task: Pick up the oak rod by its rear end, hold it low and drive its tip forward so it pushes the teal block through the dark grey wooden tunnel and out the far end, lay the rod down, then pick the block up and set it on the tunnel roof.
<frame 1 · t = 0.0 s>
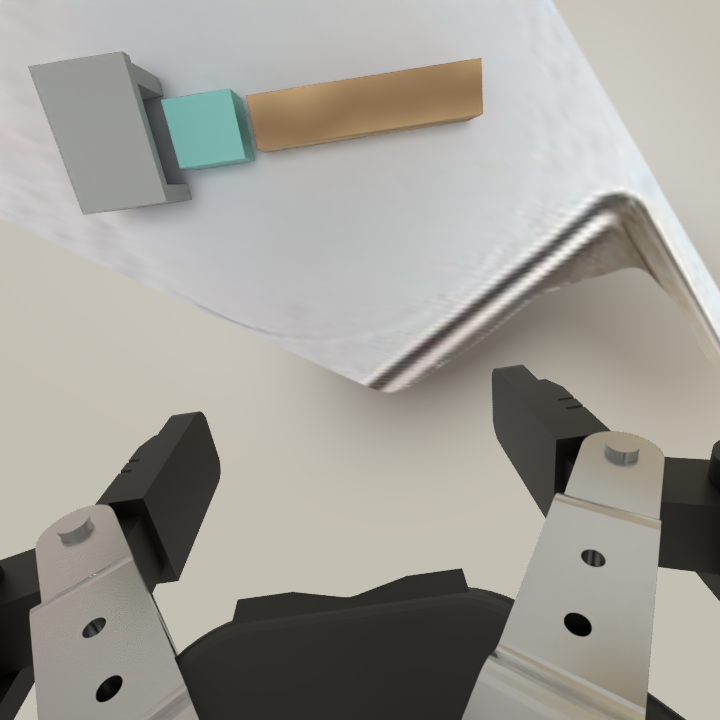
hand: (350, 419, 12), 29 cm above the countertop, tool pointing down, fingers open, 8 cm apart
rod: (363, 112, 35), on the countertop
tunnel: (145, 146, 35), on the countertop
block: (218, 135, 35), on the countertop
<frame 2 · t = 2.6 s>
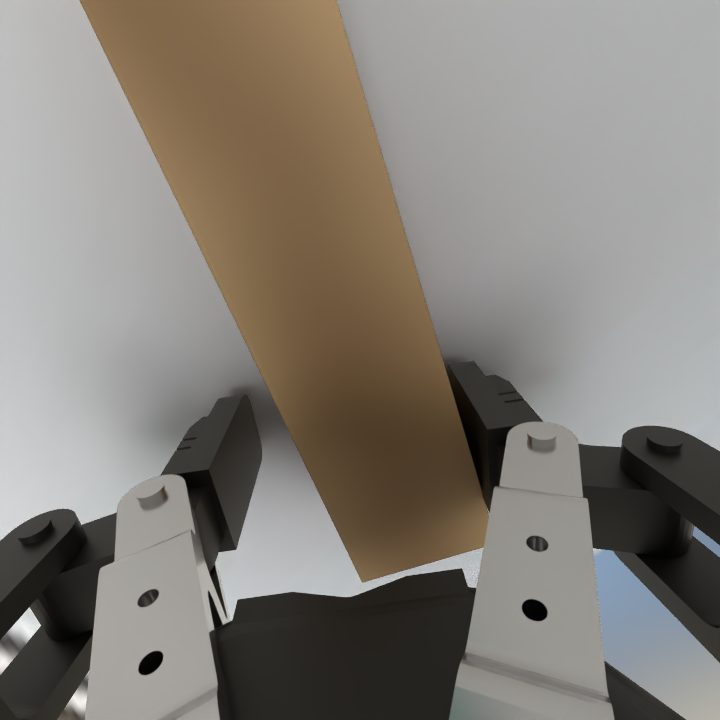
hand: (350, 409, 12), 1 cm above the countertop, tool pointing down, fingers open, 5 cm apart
rod: (311, 212, 11), on the countertop, touching gripper
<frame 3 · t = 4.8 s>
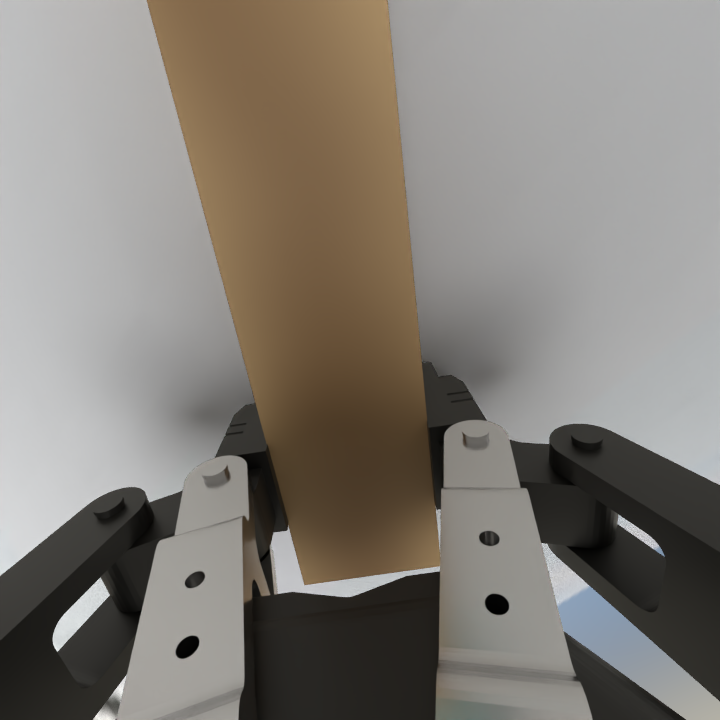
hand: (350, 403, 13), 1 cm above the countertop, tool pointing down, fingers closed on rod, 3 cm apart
rod: (320, 215, 11), on the countertop, touching block, gripper
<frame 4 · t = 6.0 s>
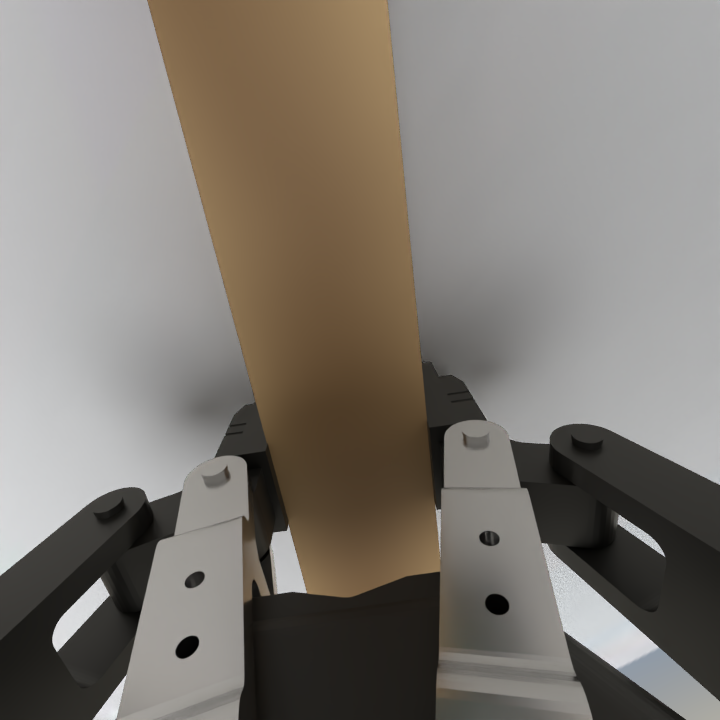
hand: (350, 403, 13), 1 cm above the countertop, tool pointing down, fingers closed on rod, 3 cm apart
rod: (324, 242, 12), on the countertop, touching block, gripper
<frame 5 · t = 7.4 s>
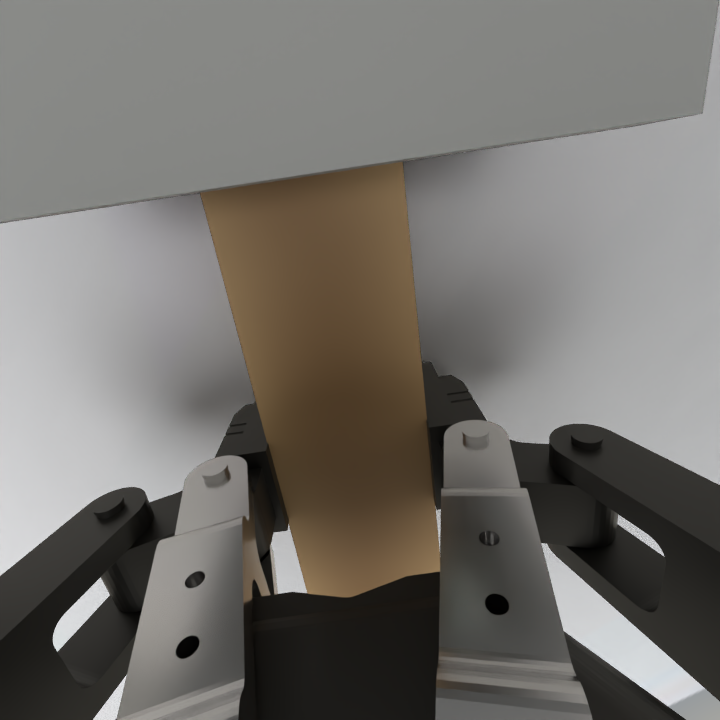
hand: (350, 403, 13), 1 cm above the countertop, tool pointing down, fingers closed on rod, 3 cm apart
rod: (328, 264, 12), on the countertop, touching gripper
tunnel: (292, 40, 10), on the countertop
when the fingers open (1 cm above the countertop, at t = 9.7 s): rod stays where it is, on the countertop.
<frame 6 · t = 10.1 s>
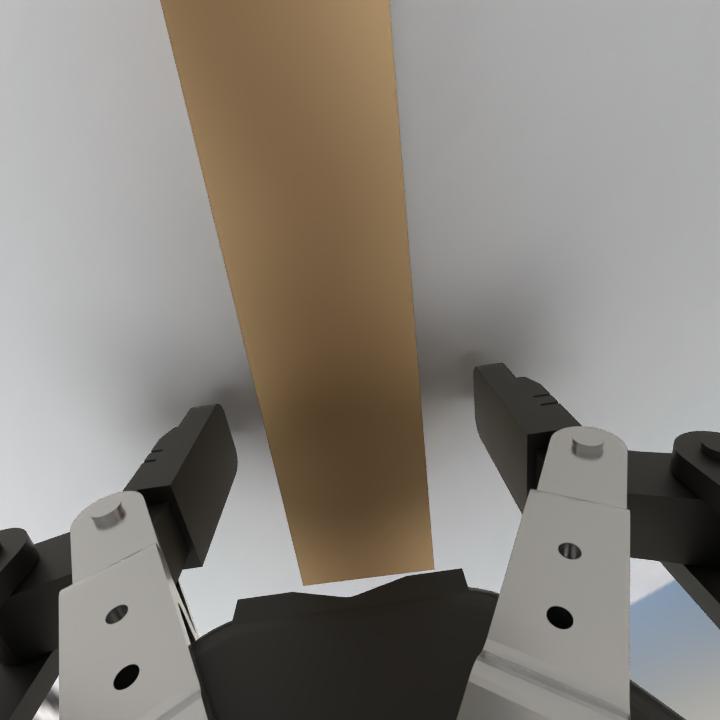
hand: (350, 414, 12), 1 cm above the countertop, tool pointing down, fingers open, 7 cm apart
rod: (324, 231, 12), on the countertop
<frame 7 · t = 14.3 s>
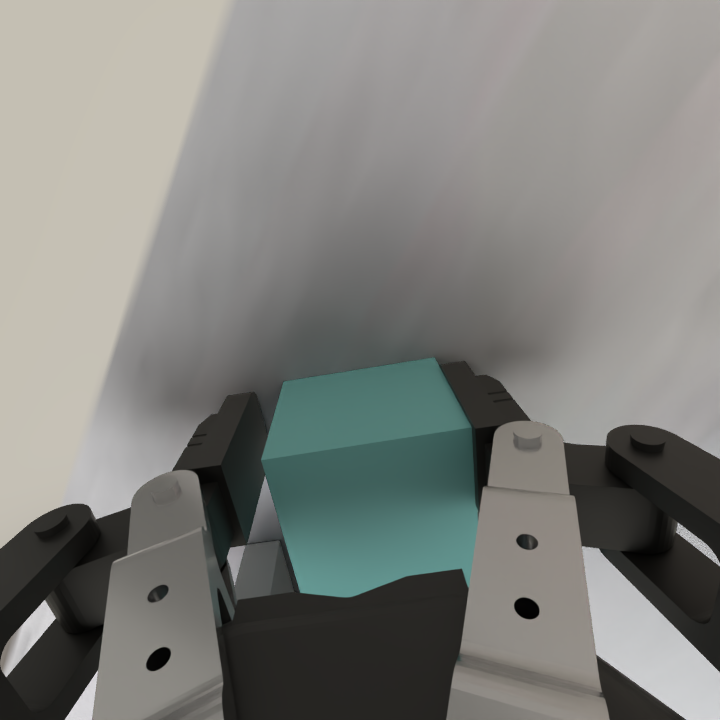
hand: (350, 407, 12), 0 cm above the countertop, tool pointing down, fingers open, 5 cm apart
tunnel: (380, 578, 16), on the countertop
block: (370, 438, 14), on the countertop, touching gripper
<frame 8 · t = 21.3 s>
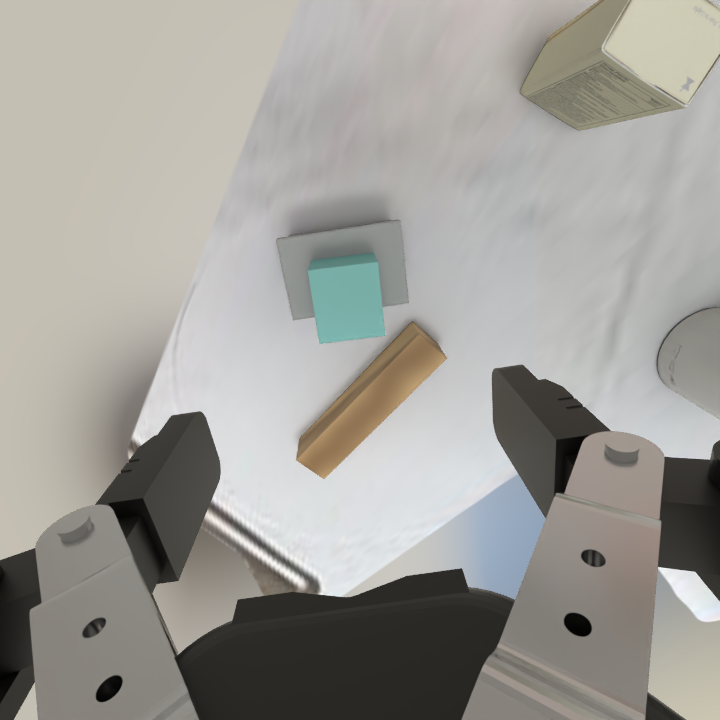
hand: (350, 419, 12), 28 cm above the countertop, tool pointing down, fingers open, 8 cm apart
rod: (365, 392, 43), on the countertop
tunnel: (344, 257, 38), on the countertop
skincare box: (561, 86, 34), on the countertop
block: (346, 290, 32), point 7 cm above the countertop, touching tunnel
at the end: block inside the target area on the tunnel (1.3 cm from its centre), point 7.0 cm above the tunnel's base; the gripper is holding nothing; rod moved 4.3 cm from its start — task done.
